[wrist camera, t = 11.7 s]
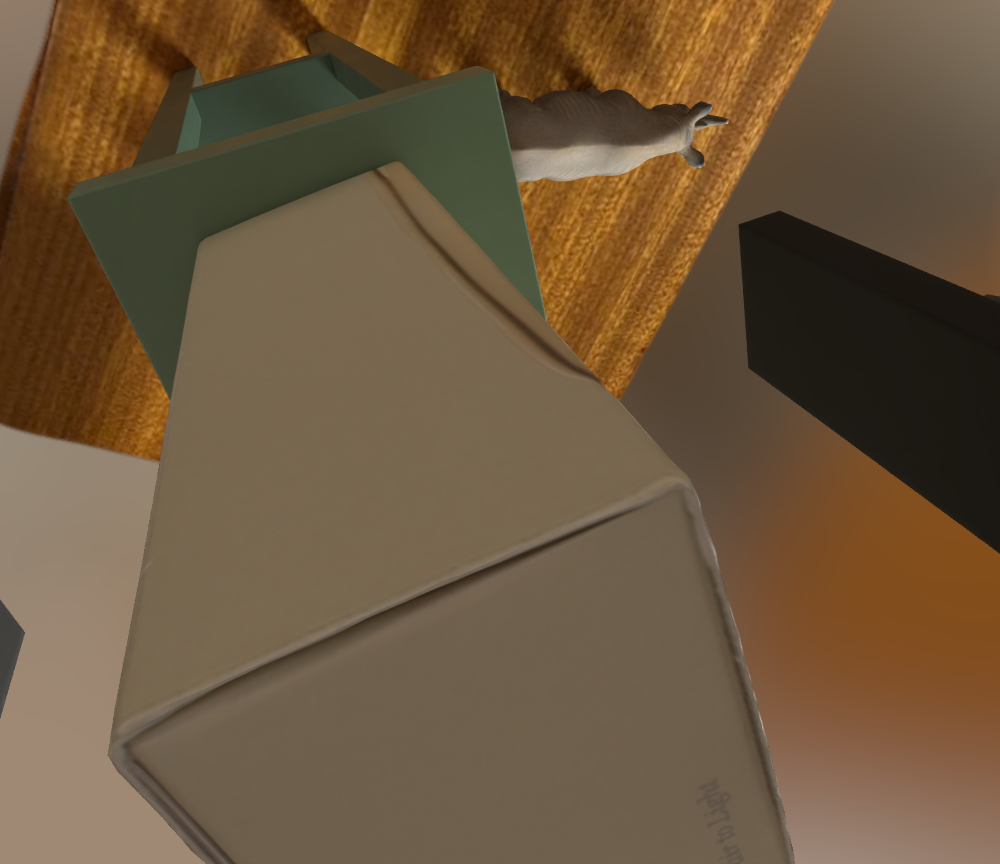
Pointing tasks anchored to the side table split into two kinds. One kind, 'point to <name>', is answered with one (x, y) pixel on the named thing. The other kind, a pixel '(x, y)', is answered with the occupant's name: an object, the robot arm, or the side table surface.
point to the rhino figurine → (596, 133)
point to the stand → (267, 95)
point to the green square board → (304, 192)
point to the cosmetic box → (423, 575)
